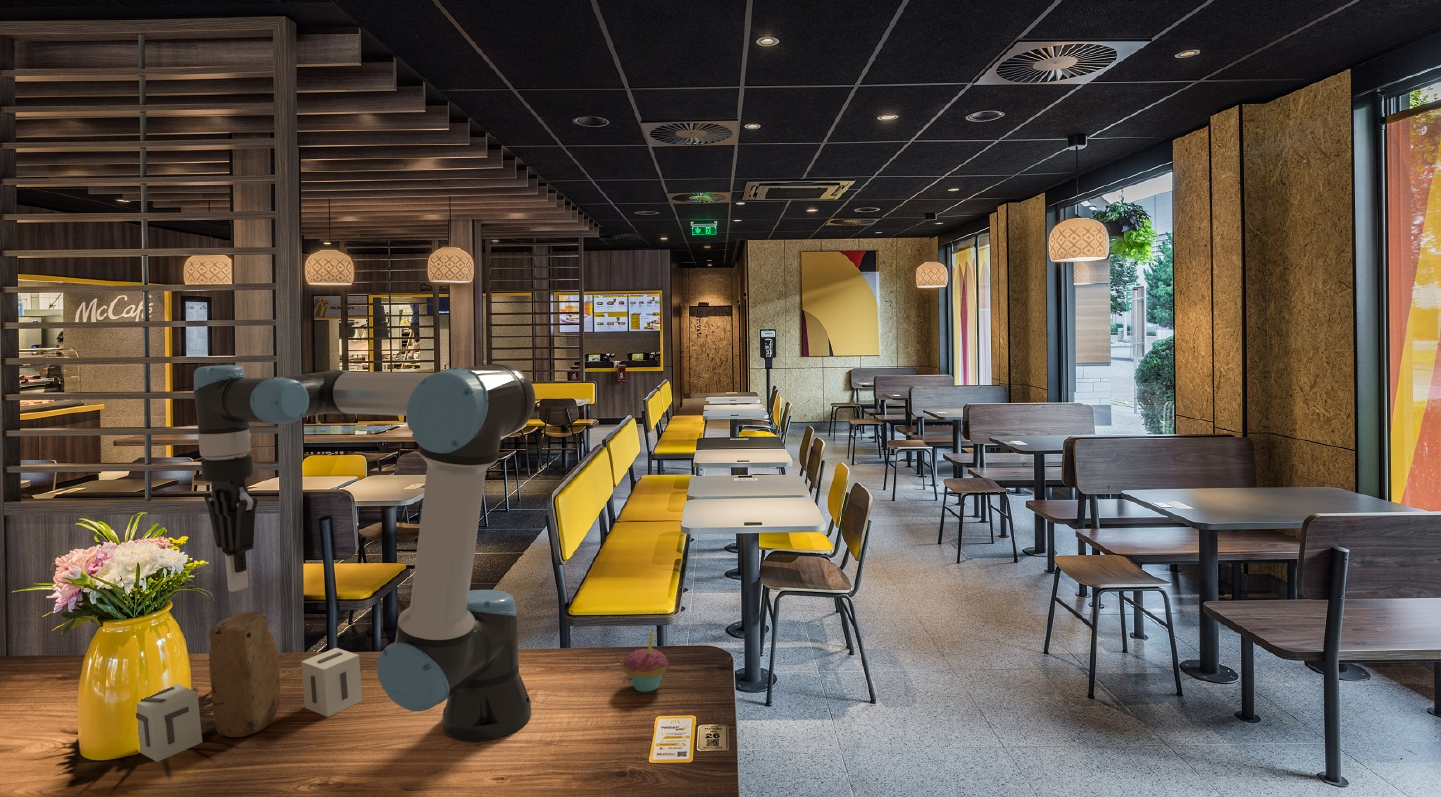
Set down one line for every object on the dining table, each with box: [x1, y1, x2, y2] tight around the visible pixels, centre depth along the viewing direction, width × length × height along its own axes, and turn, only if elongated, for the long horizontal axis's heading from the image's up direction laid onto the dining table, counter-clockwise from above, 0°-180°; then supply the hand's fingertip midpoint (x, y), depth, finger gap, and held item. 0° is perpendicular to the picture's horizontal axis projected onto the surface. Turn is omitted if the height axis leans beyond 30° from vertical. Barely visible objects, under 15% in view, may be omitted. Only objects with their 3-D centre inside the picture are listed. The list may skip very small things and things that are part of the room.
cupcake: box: [622, 628, 669, 693], centre depth 156 cm, size 9×8×12 cm
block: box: [208, 610, 282, 738], centre depth 145 cm, size 11×8×20 cm
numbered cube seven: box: [135, 683, 203, 763], centre depth 138 cm, size 7×7×9 cm
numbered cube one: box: [300, 647, 363, 718], centre depth 152 cm, size 7×7×9 cm
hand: (238, 588), depth 143 cm, fingers closed
